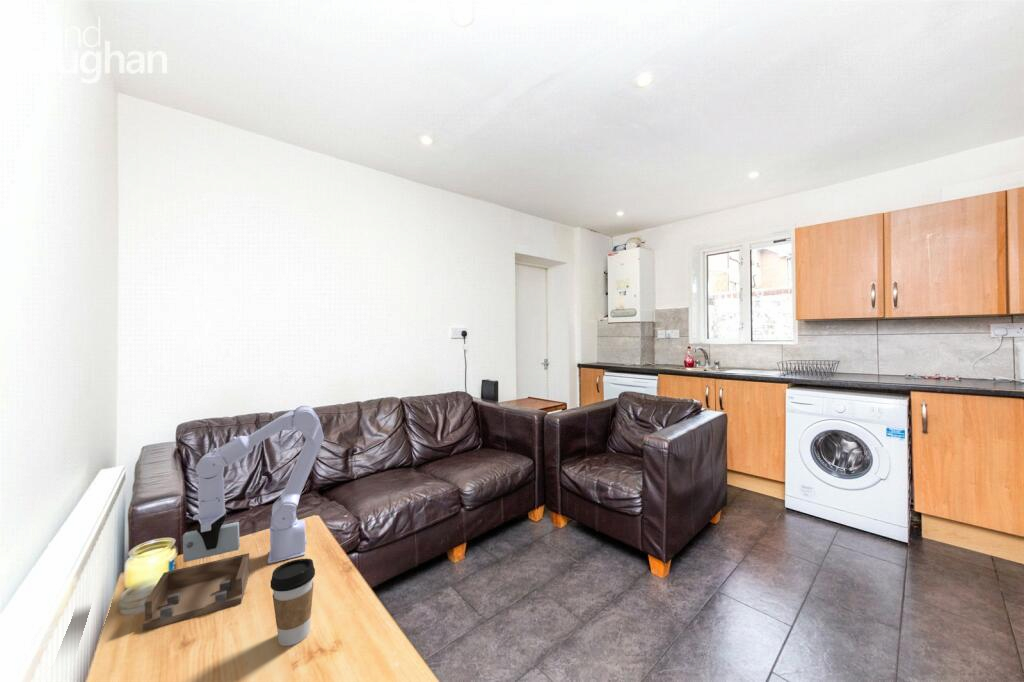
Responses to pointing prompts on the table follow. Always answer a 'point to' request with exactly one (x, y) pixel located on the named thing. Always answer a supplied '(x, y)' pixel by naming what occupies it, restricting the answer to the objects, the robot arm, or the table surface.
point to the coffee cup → (293, 600)
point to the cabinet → (197, 591)
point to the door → (197, 549)
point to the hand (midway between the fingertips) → (212, 546)
